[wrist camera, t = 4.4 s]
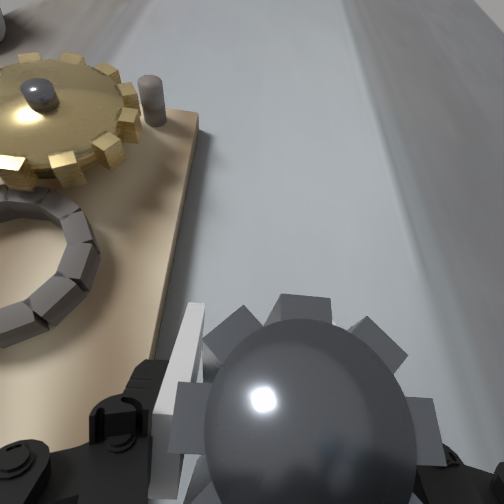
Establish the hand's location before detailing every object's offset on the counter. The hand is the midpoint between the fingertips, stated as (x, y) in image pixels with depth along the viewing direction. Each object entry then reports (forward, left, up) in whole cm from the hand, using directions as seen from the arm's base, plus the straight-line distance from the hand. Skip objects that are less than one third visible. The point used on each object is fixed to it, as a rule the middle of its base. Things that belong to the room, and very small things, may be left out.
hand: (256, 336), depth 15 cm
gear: (+13, -12, -2) cm, 18 cm away
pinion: (0, +4, -4) cm, 5 cm away
